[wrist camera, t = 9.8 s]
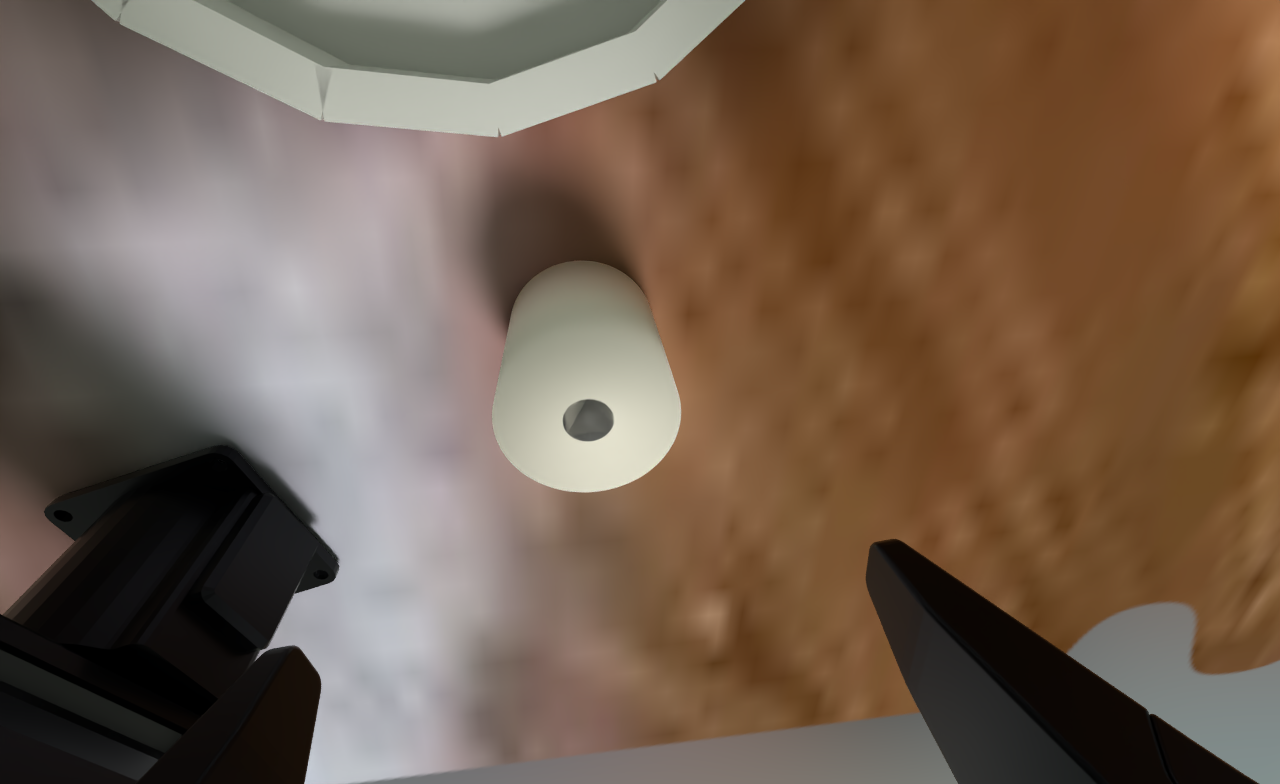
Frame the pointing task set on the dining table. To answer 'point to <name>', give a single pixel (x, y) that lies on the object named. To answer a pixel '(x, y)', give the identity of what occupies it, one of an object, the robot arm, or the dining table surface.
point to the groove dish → (432, 53)
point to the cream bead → (584, 381)
